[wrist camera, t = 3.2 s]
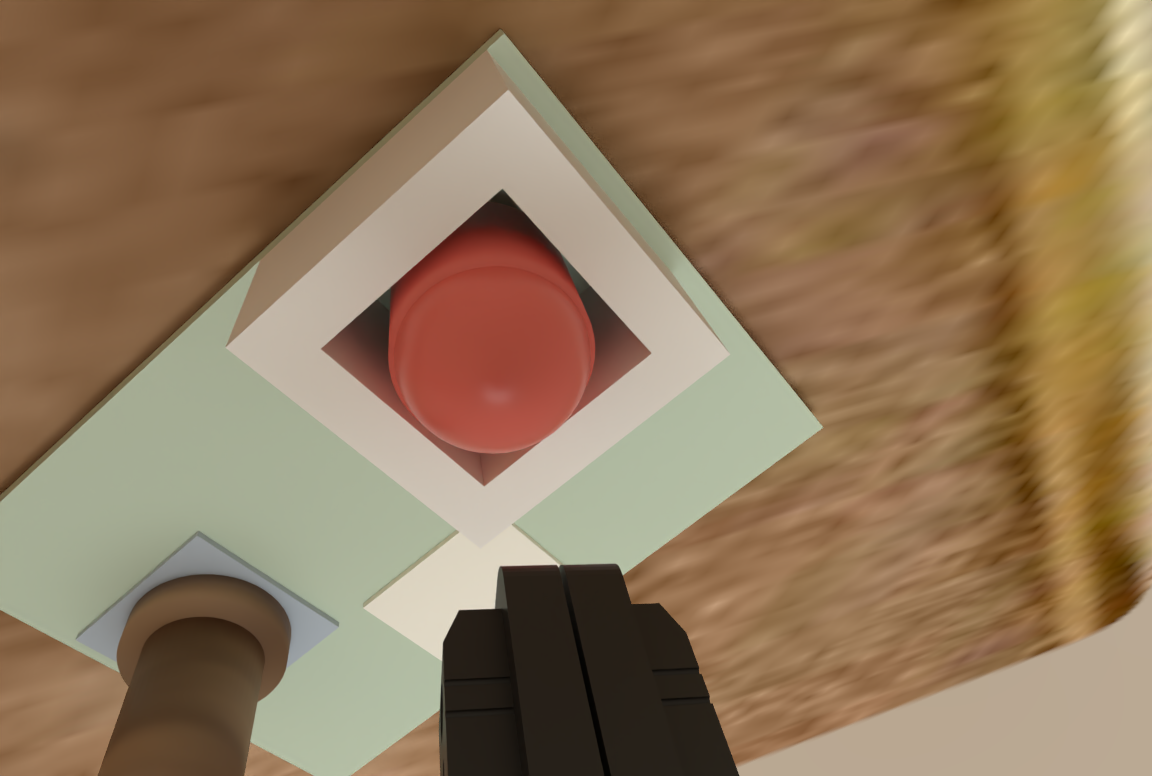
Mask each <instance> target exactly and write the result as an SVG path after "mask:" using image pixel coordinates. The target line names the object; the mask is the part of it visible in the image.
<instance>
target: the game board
mask: <svg viewBox="0 0 1152 776" xmlns="http://www.w3.org/2000/svg"><path fill="white" fill-rule="evenodd" d="M486 50H488V52H489V53H490V54H491V55H492V56H493V58H494V59H495V60H496V61H497V62H498V64H499V65H500V66H501V67H502V68H503V70H504V71H505V72H506V73H507V74H508V76H509V77H510V78H511V79H512V80H513V82H514V83H515V84H516V85H517V87H518V88H519V89H520V90H521V91H522V93H523V94H524V95H525V96H526V97H527V99H528V100H529V101H530V102H531V103H532V105H533V106H534V107H535V108H536V109H537V111H538V112H539V113H540V114H541V115H542V117H543V118H544V119H545V120H546V121H547V123H548V124H549V125H550V126H551V127H552V129H553V130H554V131H555V132H556V133H557V135H558V136H559V137H560V138H561V139H562V141H563V142H564V143H565V144H566V146H567V147H568V148H569V149H570V150H571V152H572V153H573V154H574V155H575V156H576V158H577V159H578V160H579V161H580V162H581V164H582V165H583V166H584V167H585V168H586V170H587V171H588V172H589V173H590V174H591V176H592V177H593V178H594V179H595V180H596V182H597V183H598V184H599V185H600V186H601V188H602V189H603V190H604V191H605V192H606V194H607V195H608V196H609V197H610V199H611V200H612V201H613V202H614V203H615V205H616V206H617V207H618V208H619V209H620V211H621V212H622V213H623V214H624V215H625V217H626V218H627V219H628V220H629V221H630V223H631V224H632V225H633V226H634V227H635V229H636V230H637V231H638V232H639V233H640V235H641V236H642V237H643V238H644V239H645V241H646V242H647V243H648V244H649V245H650V247H651V248H652V249H653V250H654V252H655V253H656V254H657V255H658V256H659V258H660V259H661V260H662V261H663V262H664V264H665V265H666V266H667V267H668V268H669V270H670V271H671V272H672V273H673V275H674V276H675V277H676V279H677V280H678V282H679V283H680V284H681V286H682V287H683V289H684V290H685V291H686V293H687V294H688V296H689V297H690V298H691V300H692V301H693V303H694V304H695V305H696V307H697V308H698V310H699V311H700V312H701V314H702V315H703V317H704V318H705V319H706V321H707V322H708V324H709V325H710V326H711V328H712V329H713V331H714V332H715V333H716V335H717V336H718V338H719V339H720V340H721V342H722V343H723V345H724V346H725V347H726V349H727V350H728V352H729V353H730V355H729V356H728V357H727V358H725V359H724V360H723V361H721V362H720V363H719V364H718V365H716V366H715V367H714V368H712V369H711V370H710V371H709V372H707V373H706V374H705V375H703V376H702V377H701V378H700V379H698V380H697V381H696V382H694V383H693V384H692V385H691V386H689V387H688V388H687V389H685V390H684V391H683V392H681V393H680V394H679V395H678V396H676V397H675V398H674V399H672V400H671V401H670V402H669V403H667V404H666V405H665V406H663V407H662V408H661V409H660V410H658V411H657V412H656V413H654V414H653V415H652V416H651V417H649V418H648V419H647V420H645V421H644V422H643V423H642V424H640V425H639V426H638V427H636V428H635V429H634V430H633V431H631V432H630V433H629V434H627V435H626V436H625V437H624V438H622V439H621V440H620V441H618V442H617V443H616V444H615V445H613V446H612V447H611V448H609V449H608V450H607V451H606V452H604V453H603V454H602V455H600V456H599V457H598V458H597V459H595V460H594V461H593V462H591V463H590V464H589V465H588V466H586V467H585V468H584V469H582V470H581V471H580V472H579V473H577V474H576V475H575V476H573V477H572V478H571V479H569V480H568V481H567V482H566V483H564V484H563V485H562V486H560V487H559V488H558V489H557V490H555V491H554V492H553V493H551V494H550V495H549V496H548V497H546V498H545V499H544V500H542V501H541V502H540V503H539V504H537V505H536V506H535V507H533V508H532V509H531V510H530V511H528V512H527V513H526V514H524V515H523V516H522V517H521V518H519V519H518V520H517V521H515V522H514V523H513V524H512V525H510V526H509V527H508V528H506V529H505V530H504V531H503V532H501V533H500V534H499V535H497V536H496V537H495V538H494V539H492V540H491V541H490V542H488V543H487V544H486V545H485V546H483V547H482V548H481V549H480V548H479V547H478V546H477V545H475V544H474V543H473V542H471V541H470V540H469V539H468V538H466V537H465V536H464V535H463V534H461V533H460V532H459V531H458V530H456V529H455V528H454V527H452V526H451V525H450V524H449V523H447V522H446V521H445V520H444V519H442V518H441V517H440V516H438V515H437V514H436V513H435V512H433V511H432V510H431V509H430V508H428V507H427V506H426V505H424V504H423V503H422V502H421V501H419V500H418V499H417V498H416V497H414V496H413V495H412V494H411V493H409V492H408V491H407V490H405V489H404V488H403V487H402V486H400V485H399V484H398V483H397V482H395V481H394V480H393V479H391V478H390V477H389V476H388V475H386V474H385V473H384V472H383V471H381V470H380V469H379V468H378V467H376V466H375V465H374V464H372V463H371V462H370V461H369V460H367V459H366V458H365V457H364V456H362V455H361V454H360V453H358V452H357V451H356V450H355V449H353V448H352V447H351V446H350V445H348V444H347V443H346V442H345V441H343V440H342V439H341V438H339V437H338V436H337V435H336V434H334V433H333V432H332V431H331V430H329V429H328V428H327V427H325V426H324V425H323V424H322V423H320V422H319V421H318V420H317V419H315V418H314V417H313V416H311V415H310V414H309V413H308V412H306V411H305V410H304V409H303V408H301V407H300V406H299V405H298V404H296V403H295V402H294V401H292V400H291V399H290V398H289V397H287V396H286V395H285V394H284V393H282V392H281V391H280V390H278V389H277V388H276V387H275V386H273V385H272V384H271V383H270V382H268V381H267V380H266V379H265V378H263V377H262V376H261V375H259V374H258V373H257V372H256V371H254V370H253V369H252V368H251V367H249V366H248V365H247V364H245V363H244V362H243V361H242V360H240V359H239V358H238V357H237V356H235V355H234V354H233V353H232V352H230V351H229V350H228V349H226V348H225V347H226V345H227V342H228V340H229V337H230V335H231V332H232V330H233V327H234V325H235V322H236V320H237V317H238V315H239V312H240V310H241V307H242V305H243V302H244V300H245V297H246V295H247V292H248V290H249V287H250V285H251V282H252V280H253V277H254V275H255V272H256V270H257V267H258V265H259V262H260V260H261V259H262V258H263V257H264V256H265V255H266V254H267V253H269V252H270V251H271V250H272V249H273V248H274V247H275V246H276V245H277V244H278V243H279V242H280V241H281V240H283V239H284V238H285V237H286V236H287V235H288V234H289V233H290V232H291V231H292V230H293V229H294V228H295V227H296V226H298V225H299V224H300V223H301V222H302V221H303V220H304V219H305V218H306V217H307V216H308V215H309V214H310V213H312V212H313V211H314V210H315V209H316V208H317V207H318V206H319V205H320V204H321V203H322V202H323V201H324V200H326V199H327V198H328V197H329V196H330V195H331V194H332V193H333V192H334V191H335V190H336V189H337V188H338V187H340V186H341V185H342V184H343V183H344V182H345V181H346V180H347V179H348V178H349V177H350V176H351V175H352V174H353V173H355V172H356V171H357V170H358V169H359V168H360V167H361V166H362V165H363V164H364V163H365V162H366V161H367V160H369V159H370V158H371V157H372V156H373V155H374V154H375V153H376V152H377V151H378V150H379V149H380V148H381V147H383V146H384V145H385V144H386V143H387V142H388V141H389V140H390V139H391V138H392V137H393V136H394V135H395V134H397V133H398V132H399V131H400V130H401V129H402V128H403V127H404V126H405V125H406V124H407V123H408V122H409V121H411V120H412V119H413V118H414V117H415V116H416V115H417V114H418V113H419V112H420V111H421V110H422V109H423V108H424V107H426V106H427V105H428V104H429V103H430V102H431V101H432V100H433V99H434V98H435V97H436V96H437V95H438V94H440V93H441V92H442V91H443V90H444V89H445V88H446V87H447V86H448V85H449V84H450V83H451V82H452V81H454V80H455V79H456V78H457V77H458V76H459V75H460V74H461V73H462V72H463V71H464V70H465V69H466V68H468V67H469V66H470V65H471V64H472V63H473V62H474V61H475V60H476V59H477V58H478V57H479V56H480V55H481V54H483V53H484V52H485V51H486ZM488 202H496V203H500V204H504V205H508V206H511V207H513V208H516V209H519V210H520V211H522V209H521V208H520V207H519V206H518V205H517V204H516V203H515V202H514V201H513V200H512V198H511V197H510V196H509V195H508V194H507V193H506V192H505V191H504V190H503V189H501V190H500V191H499V192H498V193H497V194H496V195H494V196H493V197H492V198H491V199H490V200H489V201H488ZM522 212H523V211H522ZM561 255H562V254H561ZM562 257H563V260H564V262H565V264H566V266H567V269H568V271H569V273H570V276H571V278H572V280H573V282H574V285H575V287H576V289H577V292H578V294H579V295H580V294H581V293H582V292H583V291H584V290H586V289H587V288H588V287H589V286H590V285H589V283H588V282H587V281H586V280H585V279H584V278H583V277H582V276H581V275H580V274H579V272H578V271H577V270H576V269H575V268H574V267H573V266H572V265H571V264H570V262H569V261H568V260H567V259H566V258H565V257H564V256H563V255H562ZM390 293H391V287H390V288H389V289H388V290H387V291H386V292H384V293H383V294H382V295H381V296H380V297H379V298H378V299H377V300H378V301H379V302H380V303H382V304H383V305H384V306H385V307H386V308H387V309H388V310H389V311H390ZM822 428H823V426H822V425H821V424H820V423H819V421H818V420H817V419H816V418H815V416H814V415H813V414H812V413H811V411H810V410H809V409H808V408H807V406H806V405H805V404H804V403H803V401H802V400H801V399H800V398H799V396H798V395H797V394H796V393H795V392H794V390H793V389H792V388H791V387H790V385H789V384H788V383H787V382H786V380H785V379H784V378H783V377H782V375H781V374H780V373H779V372H778V371H777V369H776V368H775V367H774V366H773V364H772V363H771V362H770V361H769V359H768V358H767V357H766V356H765V354H764V353H763V352H762V351H761V350H760V348H759V347H758V346H757V345H756V343H755V342H754V341H753V340H752V338H751V337H750V336H749V335H748V333H747V332H746V331H745V330H744V329H743V327H742V326H741V325H740V324H739V322H738V321H737V320H736V319H735V317H734V316H733V315H732V314H731V312H730V311H729V310H728V309H727V307H726V306H725V305H724V304H723V303H722V301H721V300H720V299H719V298H718V296H717V295H716V294H715V293H714V291H713V290H712V289H711V288H710V286H709V285H708V284H707V283H706V282H705V280H704V279H703V278H702V277H701V275H700V274H699V273H698V272H697V270H696V269H695V268H694V267H693V265H692V264H691V263H690V262H689V261H688V259H687V258H686V257H685V256H684V254H683V253H682V252H681V251H680V249H679V248H678V247H677V246H676V244H675V243H674V242H673V241H672V240H671V238H670V237H669V236H668V235H667V233H666V232H665V231H664V230H663V228H662V227H661V226H660V225H659V223H658V222H657V221H656V220H655V218H654V217H653V216H652V215H651V214H650V212H649V211H648V210H647V209H646V207H645V206H644V205H643V204H642V202H641V201H640V200H639V199H638V197H637V196H636V195H635V194H634V193H633V191H632V190H631V189H630V188H629V186H628V185H627V184H626V183H625V181H624V180H623V179H622V178H621V176H620V175H619V174H618V173H617V172H616V170H615V169H614V168H613V167H612V165H611V164H610V163H609V162H608V160H607V159H606V158H605V157H604V155H603V154H602V153H601V152H600V151H599V149H598V148H597V147H596V146H595V144H594V143H593V142H592V141H591V139H590V138H589V137H588V136H587V134H586V133H585V132H584V131H583V129H582V128H581V127H580V126H579V125H578V123H577V122H576V121H575V120H574V118H573V117H572V116H571V115H570V113H569V112H568V111H567V110H566V108H565V107H564V106H563V105H562V104H561V102H560V101H559V100H558V99H557V97H556V96H555V95H554V94H553V92H552V91H551V90H550V89H549V87H548V86H547V85H546V84H545V83H544V81H543V80H542V79H541V78H540V76H539V75H538V74H537V73H536V71H535V70H534V69H533V68H532V66H531V65H530V64H529V63H528V62H527V60H526V59H525V58H524V57H523V55H522V54H521V53H520V52H519V50H518V49H517V48H516V47H515V45H514V44H513V43H512V42H511V40H510V39H509V38H508V37H507V36H506V34H505V33H504V32H503V31H502V29H500V30H498V31H497V32H496V33H495V34H494V35H493V36H492V37H491V38H490V39H489V40H488V41H487V42H486V43H485V44H483V45H482V46H481V47H480V48H479V49H478V50H477V51H476V52H475V53H474V54H473V55H472V56H471V57H470V58H468V59H467V60H466V61H465V62H464V63H463V64H462V65H461V66H460V67H459V68H458V69H457V70H456V71H455V72H453V73H452V74H451V75H450V76H449V77H448V78H447V79H446V80H445V81H444V82H443V83H442V84H441V85H439V86H438V87H437V88H436V89H435V90H434V91H433V92H432V93H431V94H430V95H429V96H428V97H427V98H426V99H424V100H423V101H422V102H421V103H420V104H419V105H418V106H417V107H416V108H415V109H414V110H413V111H412V112H411V113H409V114H408V115H407V116H406V117H405V118H404V119H403V120H402V121H401V122H400V123H399V124H398V125H397V126H396V127H394V128H393V129H392V130H391V131H390V132H389V133H388V134H387V135H386V136H385V137H384V138H383V139H382V140H381V141H379V142H378V143H377V144H376V145H375V146H374V147H373V148H372V149H371V150H370V151H369V152H368V153H367V154H365V155H364V156H363V157H362V158H361V159H360V160H359V161H358V162H357V163H356V164H355V165H354V166H353V167H352V168H350V169H349V170H348V171H347V172H346V173H345V174H344V175H343V176H342V177H341V178H340V179H339V180H338V181H337V182H335V183H334V184H333V185H332V186H331V187H330V188H329V189H328V190H327V191H326V192H325V193H324V194H323V195H322V196H320V197H319V198H318V199H317V200H316V201H315V202H314V203H313V204H312V205H311V206H310V207H309V208H308V209H306V210H305V211H304V212H303V213H302V214H301V215H300V216H299V217H298V218H297V219H296V220H295V221H294V222H293V223H291V224H290V225H289V226H288V227H287V228H286V229H285V230H284V231H283V232H282V233H281V234H280V235H279V236H278V237H276V238H275V239H274V240H273V241H272V242H271V243H270V244H269V245H268V246H267V247H266V248H265V249H264V250H263V251H261V252H260V253H259V254H258V255H257V256H256V257H255V258H254V259H253V260H252V261H251V262H250V263H249V264H248V265H246V266H245V267H244V268H243V269H242V270H241V271H240V272H239V273H238V274H237V275H236V276H235V277H234V278H232V279H231V280H230V281H229V282H228V283H227V284H226V285H225V286H224V287H223V288H222V289H221V290H220V291H219V292H217V293H216V294H215V295H214V296H213V297H212V298H211V299H210V300H209V301H208V302H207V303H206V304H205V305H204V306H202V307H201V308H200V309H199V310H198V311H197V312H196V313H195V314H194V315H193V316H192V317H191V318H190V319H189V320H187V321H186V322H185V323H184V324H183V325H182V326H181V327H180V328H179V329H178V330H177V331H176V332H175V333H173V334H172V335H171V336H170V337H169V338H168V339H167V340H166V341H165V342H164V343H163V344H162V345H161V346H160V347H158V348H157V349H156V350H155V351H154V352H153V353H152V354H151V355H150V356H149V357H148V358H147V359H146V360H145V361H143V362H142V363H141V364H140V365H139V366H138V367H137V368H136V369H135V370H134V371H133V372H132V373H131V374H130V375H128V376H127V377H126V378H125V379H124V380H123V381H122V382H121V383H120V384H119V385H118V386H117V387H116V388H114V389H113V390H112V391H111V392H110V393H109V394H108V395H107V396H106V397H105V398H104V399H103V400H102V401H101V402H99V403H98V404H97V405H96V406H95V407H94V408H93V409H92V410H91V411H90V412H89V413H88V414H87V415H86V416H84V417H83V418H82V419H81V420H80V421H79V422H78V423H77V424H76V425H75V426H74V427H73V428H72V429H71V430H69V431H68V432H67V433H66V434H65V435H64V436H63V437H62V438H61V439H60V440H59V441H58V442H57V443H56V444H54V445H53V446H52V447H51V448H50V449H49V450H48V451H47V452H46V453H45V454H44V455H43V456H42V457H40V458H39V459H38V460H37V461H36V462H35V463H34V464H33V465H32V466H31V467H30V468H29V469H28V470H27V471H25V472H24V473H23V474H22V475H21V476H20V477H19V478H18V479H17V480H16V481H15V482H14V483H13V484H12V485H10V486H9V487H8V488H7V489H6V490H5V491H4V492H3V493H2V494H1V495H0V610H2V611H3V612H5V613H7V614H9V615H11V616H13V617H15V618H17V619H19V620H20V621H22V622H24V623H26V624H28V625H30V626H32V627H34V628H36V629H38V630H39V631H41V632H43V633H45V634H47V635H49V636H51V637H53V638H55V639H56V640H58V641H60V642H62V643H64V644H66V645H68V646H70V647H72V648H73V649H75V650H77V651H79V652H81V653H83V654H85V655H87V656H89V657H91V658H92V659H94V660H96V661H98V662H100V663H102V664H104V665H106V666H108V667H109V668H111V669H113V670H115V671H117V672H119V669H118V665H117V658H116V656H117V648H118V644H119V641H120V638H121V636H122V633H123V631H124V628H125V625H126V623H127V620H128V617H129V615H130V613H131V611H132V609H133V607H134V606H135V604H136V603H137V602H138V601H139V600H140V599H141V598H142V597H143V596H144V595H145V594H146V593H147V592H149V591H150V590H151V589H153V588H155V587H157V586H158V585H160V584H162V583H165V582H167V581H170V580H173V579H176V578H180V577H184V576H190V575H200V574H215V575H224V576H229V577H234V578H238V579H241V580H244V581H247V582H250V583H252V584H254V585H256V586H258V587H260V588H262V589H263V590H265V591H266V592H268V593H269V594H270V595H272V596H273V597H274V598H275V599H276V600H277V601H278V602H279V603H280V604H281V606H282V607H283V608H284V610H285V612H286V614H287V615H288V618H289V621H290V625H291V641H290V648H289V654H288V661H287V666H286V671H285V673H284V676H283V678H282V679H281V681H280V683H279V684H278V685H277V687H276V688H275V689H274V690H273V691H272V692H271V693H270V694H269V695H267V696H266V697H265V698H263V699H262V700H260V701H259V702H257V708H256V713H255V718H254V724H253V729H252V735H251V740H250V742H251V743H253V744H255V745H257V746H259V747H261V748H263V749H265V750H266V751H268V752H270V753H272V754H274V755H276V756H278V757H280V758H282V759H284V760H285V761H287V762H289V763H291V764H293V765H295V766H297V767H299V768H301V769H302V770H304V771H306V772H308V773H310V774H312V775H314V776H350V775H352V774H353V773H355V772H356V771H357V770H359V769H360V768H361V767H363V766H364V765H365V764H367V763H368V762H370V761H371V760H372V759H374V758H375V757H376V756H378V755H379V754H380V753H382V752H383V751H384V750H386V749H387V748H389V747H390V746H391V745H393V744H394V743H395V742H397V741H398V740H399V739H401V738H402V737H403V736H405V735H406V734H408V733H409V732H410V731H412V730H413V729H414V728H416V727H417V726H418V725H420V724H421V723H422V722H424V721H425V720H427V719H428V718H429V717H431V716H432V715H433V714H435V713H436V712H437V711H439V710H440V694H441V672H442V650H443V641H444V639H445V637H446V635H447V633H448V631H449V629H450V627H451V625H452V623H453V621H454V619H455V617H456V615H457V613H458V611H459V610H474V609H495V600H496V587H497V576H498V570H499V567H500V566H525V565H557V566H558V567H559V566H560V565H575V564H617V565H618V566H619V567H620V569H621V572H622V575H624V574H625V573H626V572H628V571H629V570H630V569H632V568H633V567H634V566H636V565H637V564H638V563H640V562H641V561H643V560H644V559H645V558H647V557H648V556H649V555H651V554H652V553H653V552H655V551H656V550H657V549H659V548H660V547H662V546H663V545H664V544H666V543H667V542H668V541H670V540H671V539H672V538H674V537H675V536H677V535H678V534H679V533H681V532H682V531H683V530H685V529H686V528H687V527H689V526H690V525H691V524H693V523H694V522H696V521H697V520H698V519H700V518H701V517H702V516H704V515H705V514H706V513H708V512H709V511H710V510H712V509H713V508H715V507H716V506H717V505H719V504H720V503H721V502H723V501H724V500H725V499H727V498H728V497H729V496H731V495H732V494H734V493H735V492H736V491H738V490H739V489H740V488H742V487H743V486H744V485H746V484H747V483H749V482H750V481H751V480H753V479H754V478H755V477H757V476H758V475H759V474H761V473H762V472H763V471H765V470H766V469H768V468H769V467H770V466H772V465H773V464H774V463H776V462H777V461H778V460H780V459H781V458H782V457H784V456H785V455H787V454H788V453H789V452H791V451H792V450H793V449H795V448H796V447H797V446H799V445H800V444H801V443H803V442H804V441H806V440H807V439H808V438H810V437H811V436H812V435H814V434H815V433H816V432H818V431H819V430H821V429H822ZM119 673H120V672H119Z"/></svg>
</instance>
